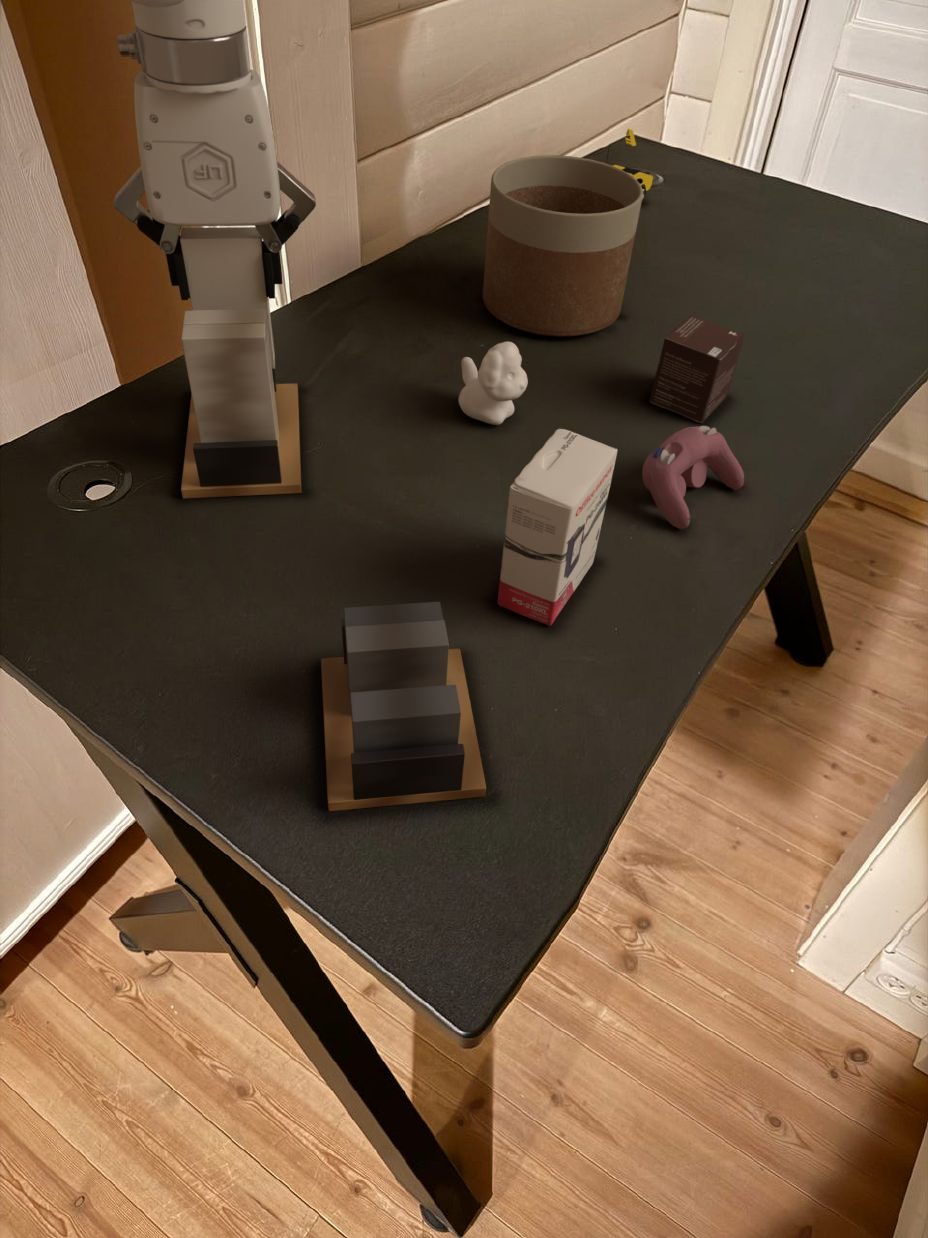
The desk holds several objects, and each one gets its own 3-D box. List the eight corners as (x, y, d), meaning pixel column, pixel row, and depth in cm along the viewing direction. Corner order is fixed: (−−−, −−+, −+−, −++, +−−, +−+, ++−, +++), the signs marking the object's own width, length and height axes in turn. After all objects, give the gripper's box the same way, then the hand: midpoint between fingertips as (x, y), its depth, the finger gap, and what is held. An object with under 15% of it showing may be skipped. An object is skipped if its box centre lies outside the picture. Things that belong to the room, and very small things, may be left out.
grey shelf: (328, 811, 57) (321, 741, 51) (321, 667, 65) (314, 593, 60) (485, 796, 58) (494, 726, 53) (459, 657, 66) (465, 583, 61)
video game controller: (706, 483, 85) (695, 411, 82) (749, 486, 82) (739, 412, 79) (642, 528, 80) (628, 454, 77) (685, 533, 77) (672, 456, 74)
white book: (202, 370, 82) (179, 238, 73) (204, 357, 83) (181, 227, 75) (274, 368, 83) (260, 238, 74) (274, 356, 84) (260, 226, 75)
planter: (586, 269, 111) (604, 150, 101) (643, 333, 101) (670, 207, 91) (463, 281, 107) (470, 159, 97) (510, 349, 97) (523, 220, 87)
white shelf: (182, 498, 77) (153, 362, 68) (193, 395, 88) (169, 264, 78) (301, 493, 78) (288, 358, 69) (298, 391, 89) (286, 263, 80)
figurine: (503, 441, 85) (511, 366, 80) (436, 411, 88) (439, 335, 82) (534, 416, 88) (544, 342, 83) (468, 388, 91) (473, 314, 86)
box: (674, 378, 95) (690, 312, 90) (727, 399, 93) (747, 333, 87) (647, 403, 91) (662, 336, 86) (701, 425, 89) (720, 358, 84)
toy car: (616, 225, 121) (628, 159, 115) (566, 208, 124) (575, 143, 118) (656, 198, 128) (669, 134, 122) (608, 183, 131) (618, 120, 125)
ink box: (552, 629, 69) (574, 508, 60) (494, 604, 70) (507, 483, 62) (595, 564, 74) (621, 444, 66) (540, 542, 76) (558, 423, 67)
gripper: (61, 69, 61) (119, 315, 74) (319, 73, 64) (332, 311, 77) (77, 37, 66) (129, 273, 79) (316, 42, 69) (328, 270, 82)
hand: (229, 290), depth 78 cm, fingers closed on white book, 6 cm apart
